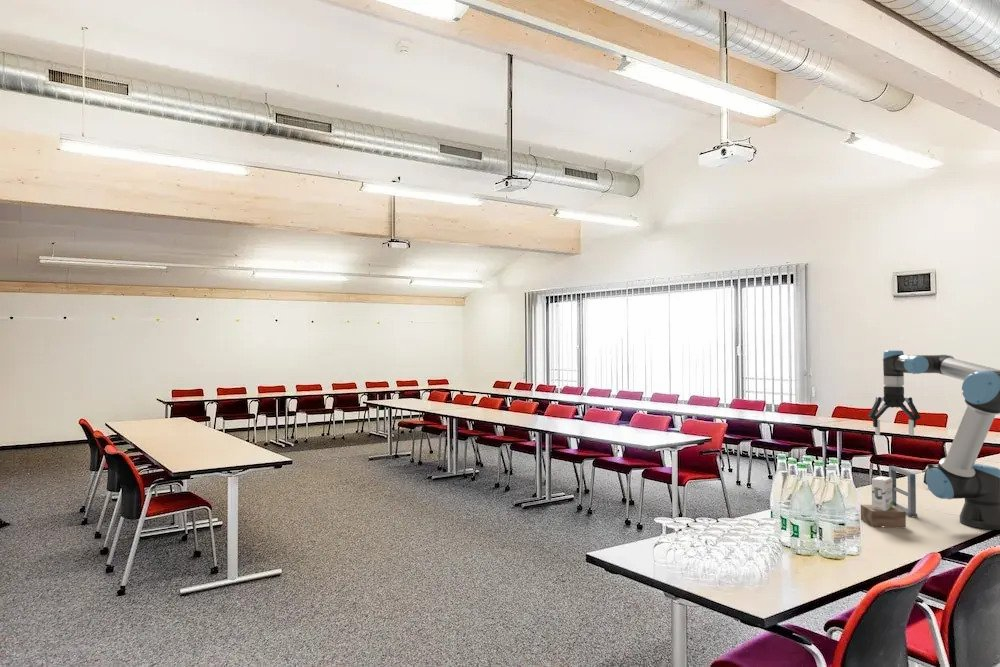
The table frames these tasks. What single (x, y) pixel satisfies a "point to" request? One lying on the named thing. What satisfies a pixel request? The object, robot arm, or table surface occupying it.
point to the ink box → (882, 493)
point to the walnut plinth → (883, 516)
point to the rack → (911, 491)
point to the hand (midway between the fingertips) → (894, 435)
